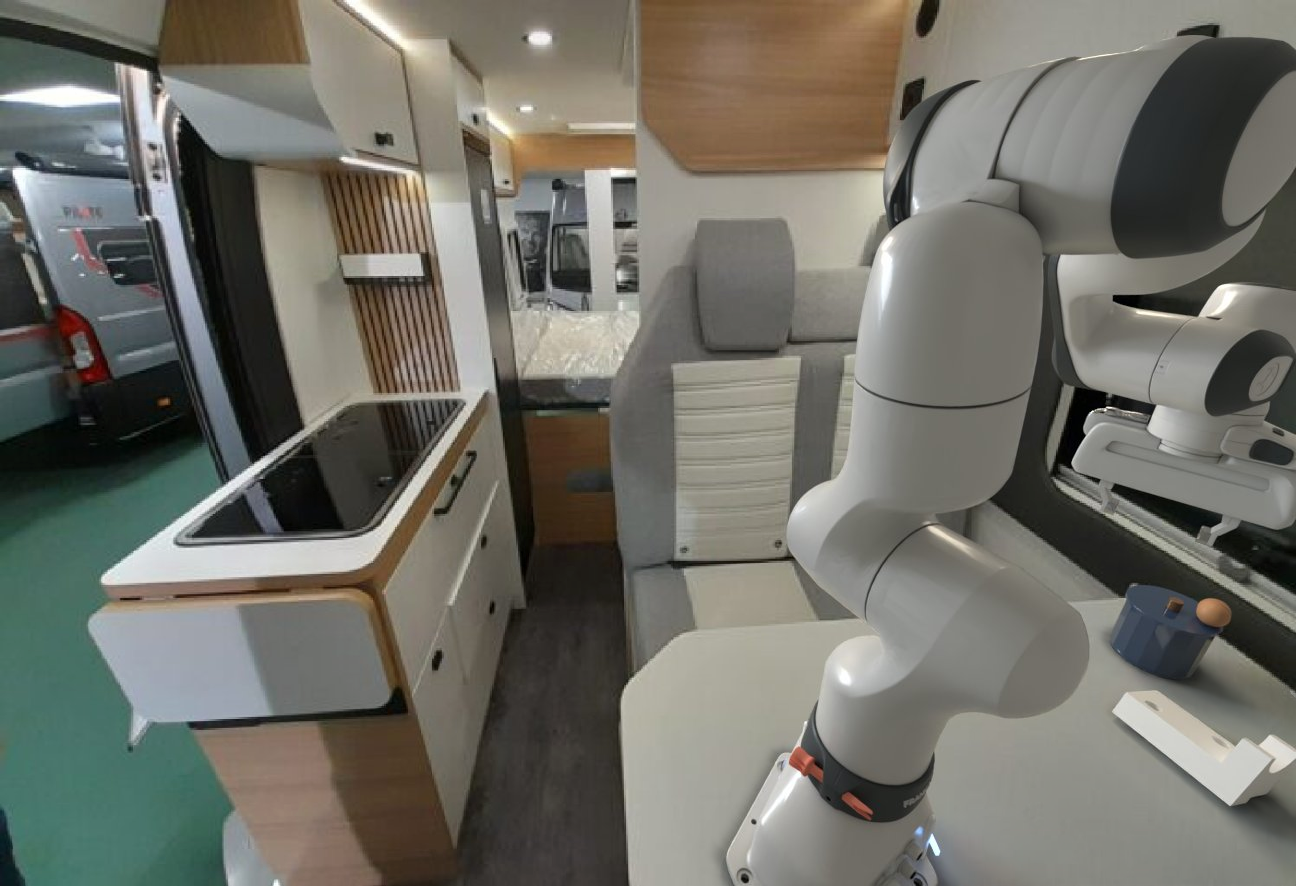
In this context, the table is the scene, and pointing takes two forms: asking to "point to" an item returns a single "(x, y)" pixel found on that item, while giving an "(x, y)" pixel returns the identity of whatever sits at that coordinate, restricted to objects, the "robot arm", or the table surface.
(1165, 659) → the pot
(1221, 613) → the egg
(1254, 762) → the bracket
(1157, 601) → the pot lid
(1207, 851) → the table surface
